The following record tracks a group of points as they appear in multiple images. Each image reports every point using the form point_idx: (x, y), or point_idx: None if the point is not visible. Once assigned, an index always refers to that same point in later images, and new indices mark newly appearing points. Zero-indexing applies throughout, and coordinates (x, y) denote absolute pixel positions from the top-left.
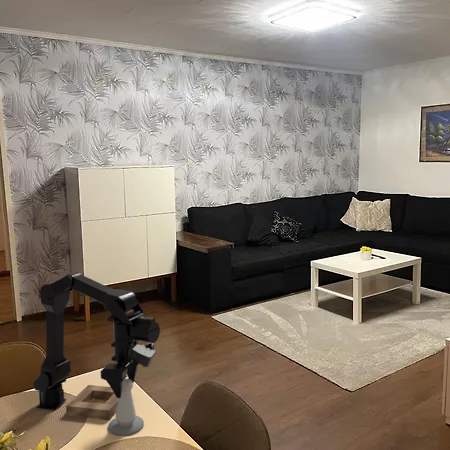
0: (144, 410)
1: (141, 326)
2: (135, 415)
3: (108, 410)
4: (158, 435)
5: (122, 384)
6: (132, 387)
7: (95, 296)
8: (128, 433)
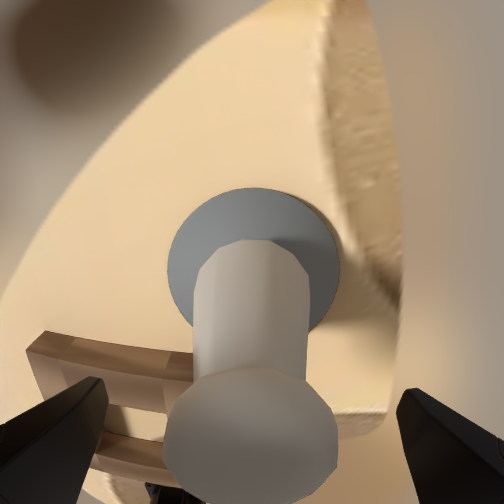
0: (103, 234)
1: None
2: (248, 242)
3: None
4: (312, 92)
5: (490, 464)
6: (238, 369)
7: None
8: (332, 238)
